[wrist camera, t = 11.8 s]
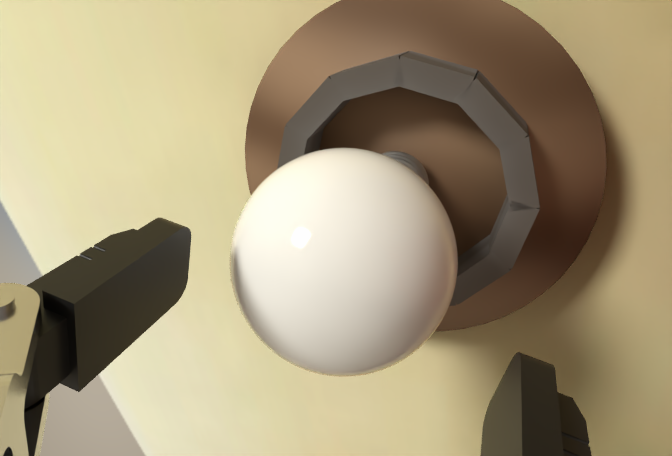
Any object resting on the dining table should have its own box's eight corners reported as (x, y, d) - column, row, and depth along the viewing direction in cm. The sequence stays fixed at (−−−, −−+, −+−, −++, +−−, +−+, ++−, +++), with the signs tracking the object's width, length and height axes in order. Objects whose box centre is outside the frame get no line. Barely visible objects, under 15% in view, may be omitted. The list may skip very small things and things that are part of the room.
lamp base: (293, -56, 21) (249, -68, 17) (674, 41, 18) (713, 50, 14) (245, 249, 28) (206, 284, 24) (513, 351, 25) (514, 407, 21)
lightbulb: (504, 134, 19) (491, 263, 9) (442, 267, 22) (386, 469, 12) (351, 79, 20) (201, 146, 10) (312, 214, 23) (168, 361, 13)
